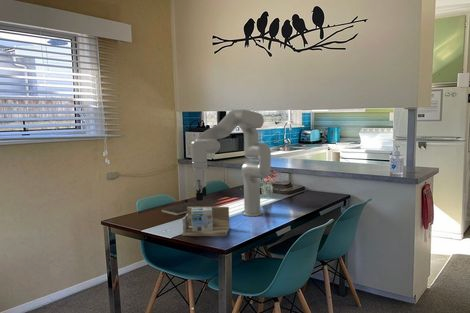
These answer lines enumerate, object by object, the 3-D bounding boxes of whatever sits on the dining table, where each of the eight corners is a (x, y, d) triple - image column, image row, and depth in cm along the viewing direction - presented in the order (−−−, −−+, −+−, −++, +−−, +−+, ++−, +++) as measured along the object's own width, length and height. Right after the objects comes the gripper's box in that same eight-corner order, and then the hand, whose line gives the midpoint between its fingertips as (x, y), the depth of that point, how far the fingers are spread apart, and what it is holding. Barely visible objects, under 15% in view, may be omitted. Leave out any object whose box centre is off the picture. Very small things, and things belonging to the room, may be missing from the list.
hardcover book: (205, 208, 264) (205, 205, 264) (177, 216, 248) (176, 212, 247) (188, 205, 275) (188, 202, 275) (160, 212, 259) (160, 208, 258)
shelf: (188, 227, 221) (187, 206, 219) (229, 228, 218) (228, 206, 217) (182, 235, 207) (181, 213, 205) (225, 236, 204) (224, 213, 203)
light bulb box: (192, 232, 208) (191, 211, 206) (191, 228, 214) (190, 208, 213) (213, 230, 209) (212, 209, 208) (212, 226, 216) (211, 206, 215)
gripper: (196, 162, 217) (197, 194, 219) (188, 168, 200) (190, 202, 202) (210, 162, 216) (211, 194, 218) (203, 167, 199) (205, 202, 201)
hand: (201, 198), depth 210 cm, fingers open, 9 cm apart
